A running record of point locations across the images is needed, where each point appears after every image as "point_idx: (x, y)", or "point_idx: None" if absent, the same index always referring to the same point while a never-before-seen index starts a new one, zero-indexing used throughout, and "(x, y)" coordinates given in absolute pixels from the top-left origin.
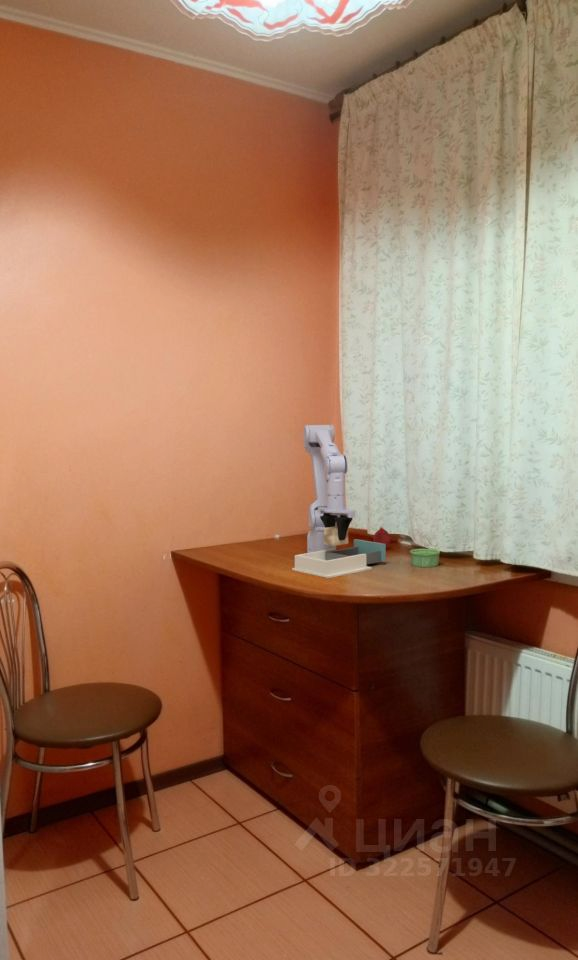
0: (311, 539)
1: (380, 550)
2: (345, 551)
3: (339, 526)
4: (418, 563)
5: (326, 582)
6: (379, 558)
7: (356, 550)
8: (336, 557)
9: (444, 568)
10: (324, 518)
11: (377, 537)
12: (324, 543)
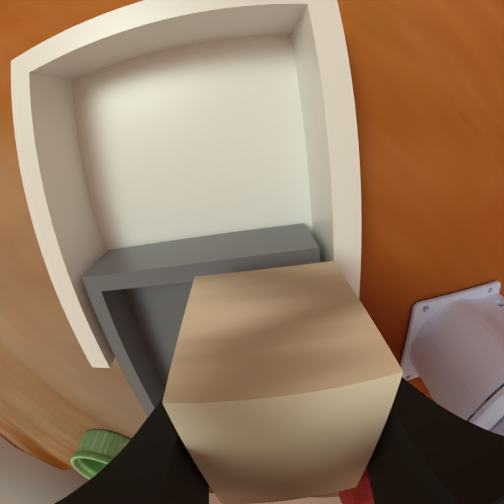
0: None
1: None
2: None
3: (120, 467)
4: (92, 435)
5: (10, 43)
6: None
7: None
8: (200, 253)
9: (67, 439)
10: (464, 500)
11: (364, 490)
12: (330, 264)
